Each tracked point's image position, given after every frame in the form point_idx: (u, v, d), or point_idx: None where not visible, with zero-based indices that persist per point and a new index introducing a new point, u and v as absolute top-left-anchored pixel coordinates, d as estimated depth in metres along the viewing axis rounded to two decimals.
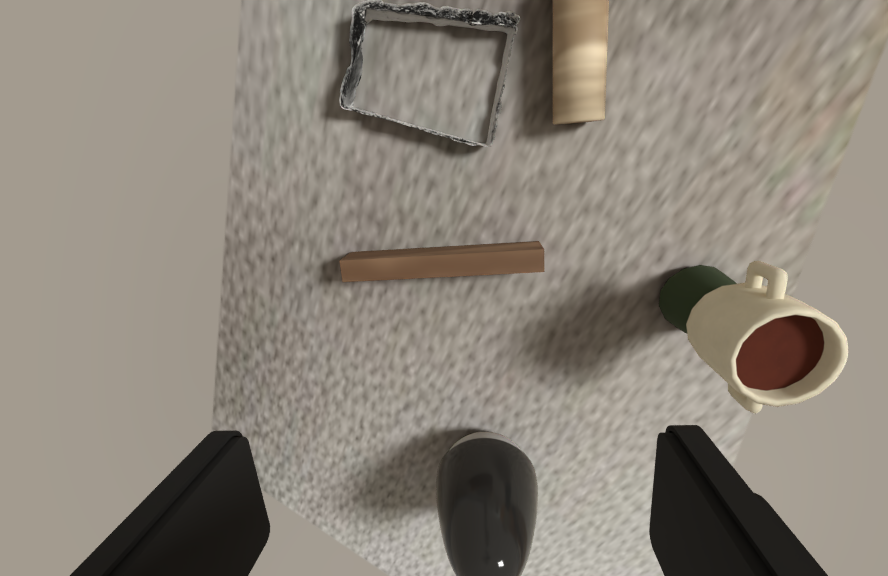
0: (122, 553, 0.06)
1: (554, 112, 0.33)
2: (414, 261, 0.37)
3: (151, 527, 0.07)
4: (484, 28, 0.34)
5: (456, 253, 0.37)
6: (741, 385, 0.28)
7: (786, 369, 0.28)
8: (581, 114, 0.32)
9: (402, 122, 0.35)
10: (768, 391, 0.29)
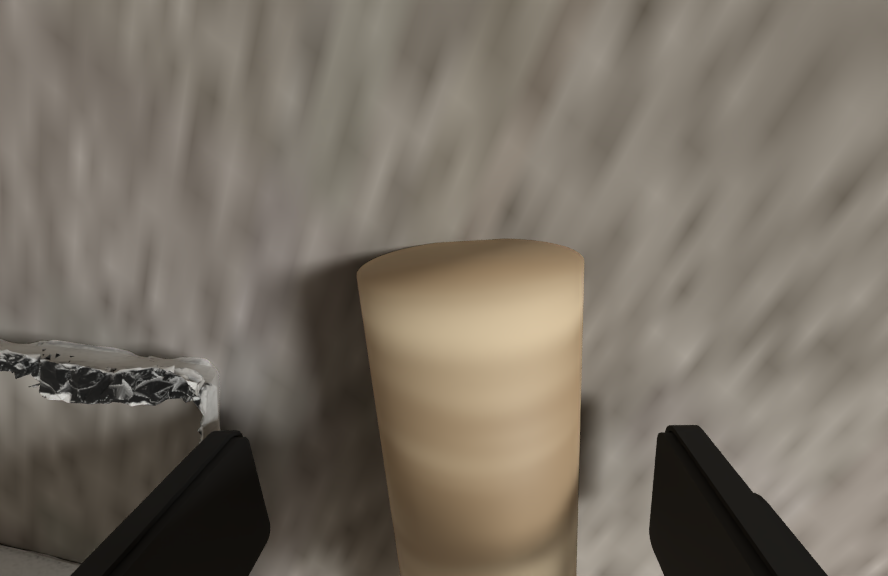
0: (122, 553, 0.06)
1: None
2: None
3: (151, 527, 0.07)
4: (138, 361, 0.11)
5: None
6: None
7: None
8: None
9: None
10: None
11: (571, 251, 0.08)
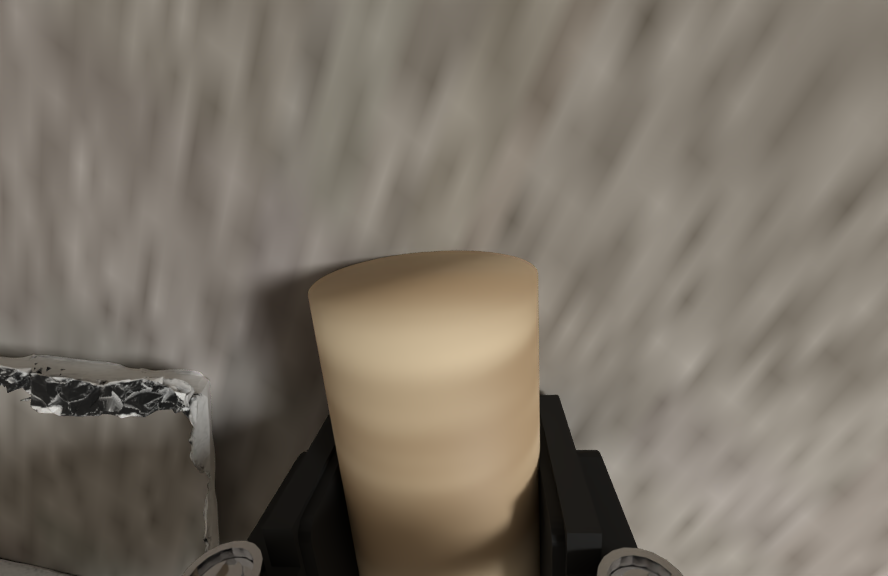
0: (309, 494, 0.07)
1: None
2: None
3: (322, 475, 0.08)
4: (130, 372, 0.11)
5: None
6: None
7: None
8: None
9: None
10: None
11: (532, 278, 0.07)
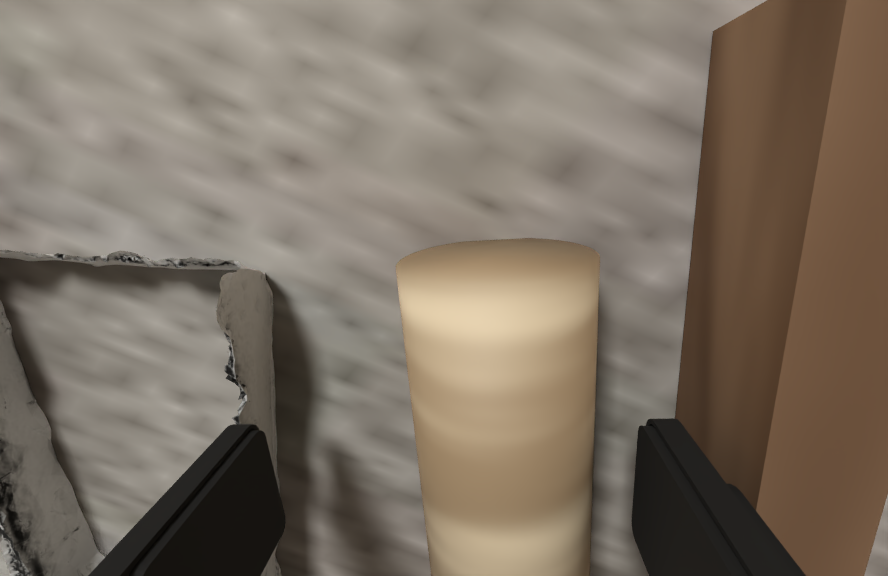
0: (150, 540, 0.07)
1: None
2: None
3: (176, 516, 0.07)
4: None
5: (754, 452, 0.08)
6: None
7: None
8: None
9: None
10: None
11: (595, 257, 0.08)
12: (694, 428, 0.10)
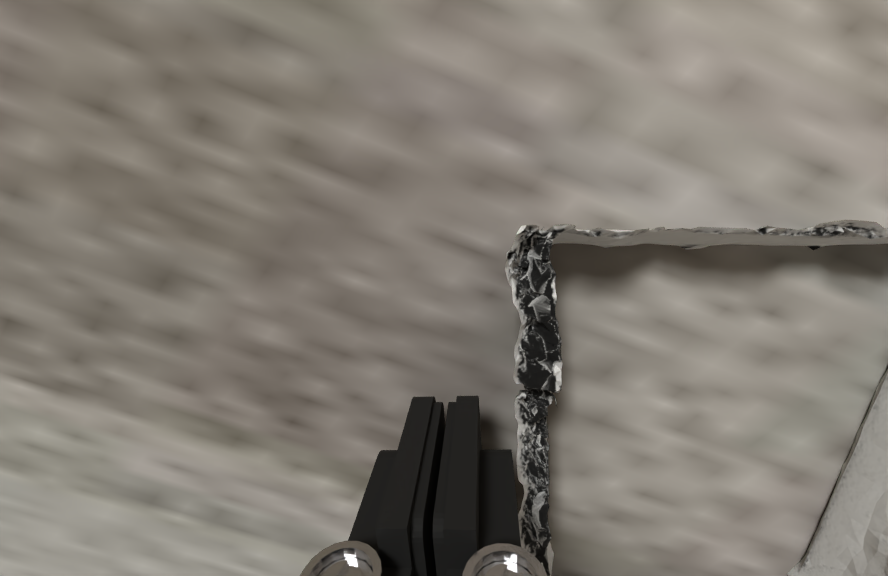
0: (414, 493, 0.07)
1: None
2: None
3: (420, 473, 0.08)
4: None
5: None
6: None
7: None
8: None
9: None
10: None
11: None
12: None
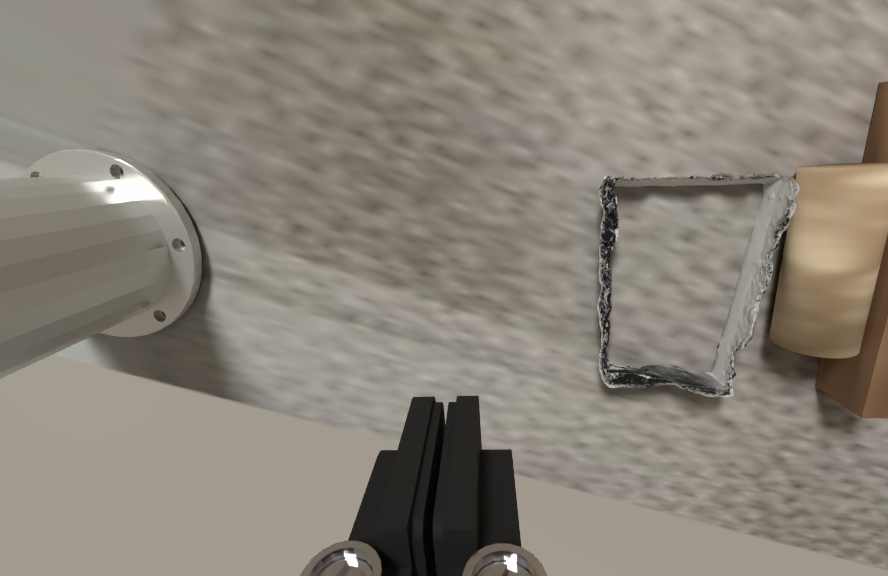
0: (414, 492, 0.07)
1: (840, 344, 0.22)
2: None
3: (420, 473, 0.08)
4: None
5: None
6: None
7: None
8: None
9: (753, 313, 0.24)
10: None
11: None
12: None
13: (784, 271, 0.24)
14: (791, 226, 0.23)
